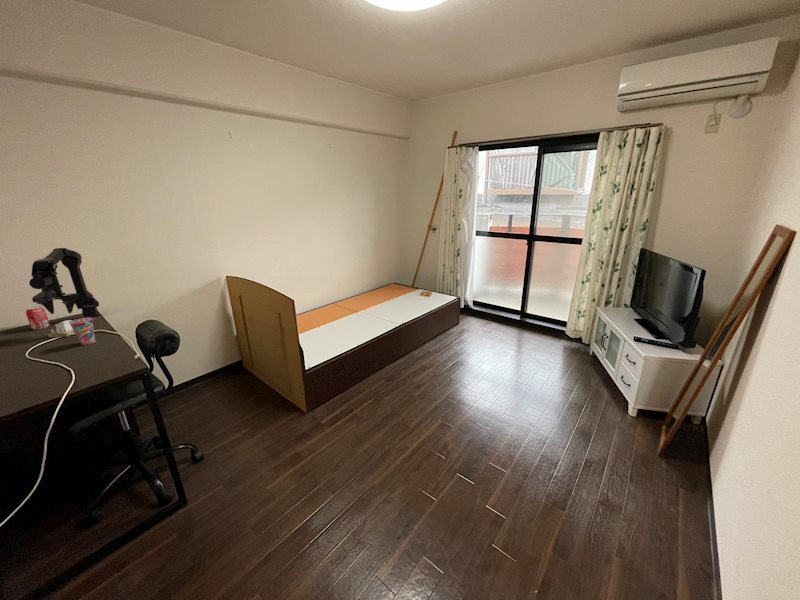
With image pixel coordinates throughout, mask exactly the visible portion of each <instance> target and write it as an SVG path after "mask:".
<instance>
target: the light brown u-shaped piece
mask: <svg viewBox="0 0 800 600" xmlns="http://www.w3.org/2000/svg"><path fill="white" fill-rule="evenodd" d="M60 330H61V332H59V330H58V329H57V328H56V329H55V330H54V329H53V328H51V329H50V332H49V333H47V336H48V338H60V337H61V338H62V337H63V336H64V337H70V336H72V335H74V334H73V333H75V332H74V330H71V331H69V332H64V331H63V329H60ZM71 334H72V335H71ZM69 335H70V336H69ZM64 337H63V338H64Z"/></svg>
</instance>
